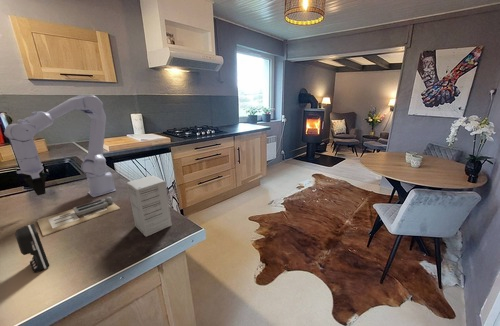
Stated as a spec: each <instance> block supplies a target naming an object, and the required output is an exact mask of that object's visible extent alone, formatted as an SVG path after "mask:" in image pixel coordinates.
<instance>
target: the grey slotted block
mask: <svg viewBox="0 0 500 326" xmlns="http://www.w3.org/2000/svg"><path fill="white" fill-rule="evenodd" d="M104 199H105V200H104ZM113 202H114V201H113V198H112V196H106V197H104V198H101V199H97V200H94V201H91V202H88V203H84V204H81V205H78V206H75V207H72V209H74V211H75V213H76V214H77V215H78V216H79V215H82V214H85V213H88V212H91V211H94V210H97V209H100V208H103V207H106V206H108V204H111V203H113Z"/></svg>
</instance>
